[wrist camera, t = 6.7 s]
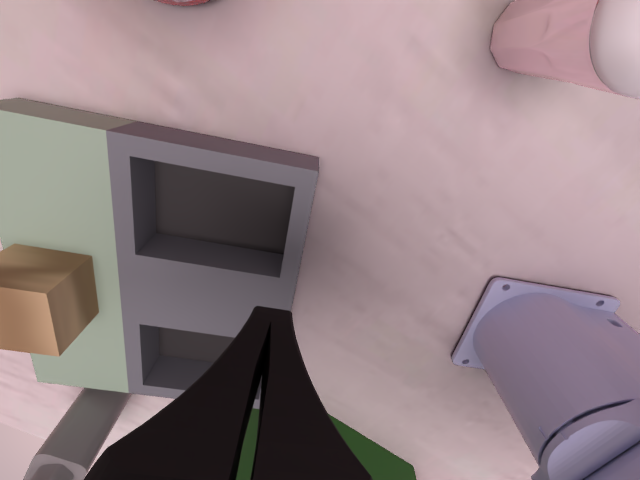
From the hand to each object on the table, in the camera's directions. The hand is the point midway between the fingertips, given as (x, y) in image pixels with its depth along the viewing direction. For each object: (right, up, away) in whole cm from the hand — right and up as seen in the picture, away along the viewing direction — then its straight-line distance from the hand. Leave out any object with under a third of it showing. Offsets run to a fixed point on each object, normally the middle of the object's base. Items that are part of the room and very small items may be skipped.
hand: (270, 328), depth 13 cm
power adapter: (-15, -8, +15) cm, 23 cm away
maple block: (-13, +1, +7) cm, 15 cm away
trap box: (-8, +2, +10) cm, 13 cm away
